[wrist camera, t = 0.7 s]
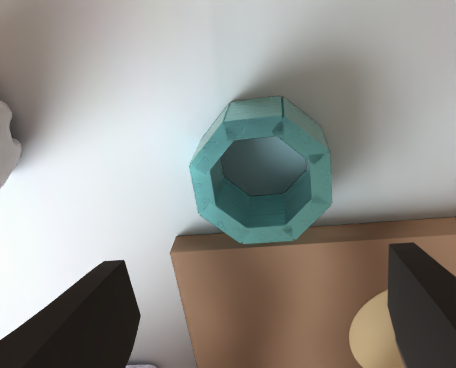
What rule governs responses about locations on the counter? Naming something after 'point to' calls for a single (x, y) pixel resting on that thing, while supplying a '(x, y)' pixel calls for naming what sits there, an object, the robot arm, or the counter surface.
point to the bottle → (7, 145)
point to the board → (299, 295)
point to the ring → (265, 204)
